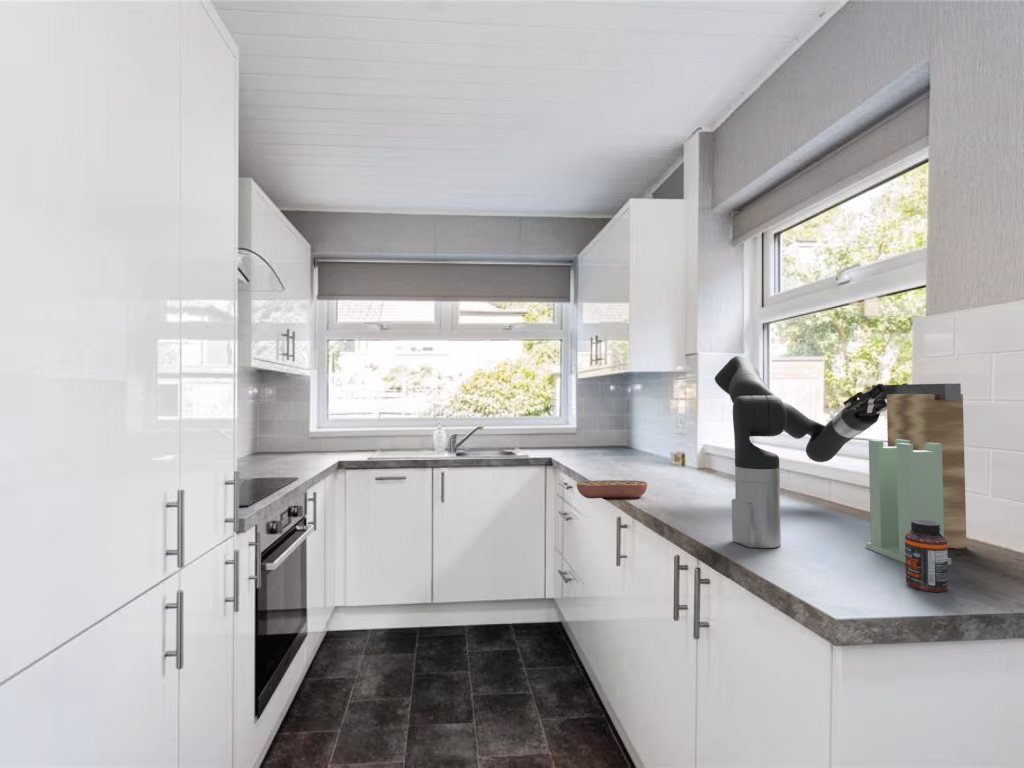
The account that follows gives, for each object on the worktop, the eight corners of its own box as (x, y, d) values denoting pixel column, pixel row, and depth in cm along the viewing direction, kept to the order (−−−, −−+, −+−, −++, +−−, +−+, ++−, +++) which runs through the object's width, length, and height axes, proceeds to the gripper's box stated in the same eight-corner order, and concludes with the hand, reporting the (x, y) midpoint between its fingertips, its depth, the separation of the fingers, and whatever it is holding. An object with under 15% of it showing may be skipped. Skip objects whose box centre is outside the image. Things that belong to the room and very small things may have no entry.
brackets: (865, 547, 121) (863, 439, 121) (900, 546, 121) (898, 439, 122) (912, 566, 108) (909, 445, 108) (951, 564, 109) (948, 444, 109)
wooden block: (889, 535, 131) (886, 394, 132) (921, 534, 132) (918, 394, 132) (931, 549, 119) (927, 394, 120) (966, 548, 120) (962, 394, 120)
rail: (872, 399, 140) (872, 385, 140) (885, 399, 140) (885, 385, 140) (945, 400, 118) (944, 383, 118) (960, 399, 118) (960, 383, 118)
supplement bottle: (897, 582, 99) (895, 518, 99) (928, 580, 100) (926, 517, 100) (924, 594, 93) (923, 526, 94) (957, 592, 94) (955, 525, 94)
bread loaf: (578, 501, 178) (578, 485, 178) (575, 495, 188) (575, 480, 188) (650, 500, 178) (650, 484, 178) (643, 494, 187) (643, 479, 188)
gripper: (824, 406, 150) (861, 373, 136) (875, 406, 151) (917, 373, 137) (833, 431, 146) (872, 400, 132) (885, 431, 147) (930, 399, 133)
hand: (895, 386), depth 135 cm, fingers open, 5 cm apart
